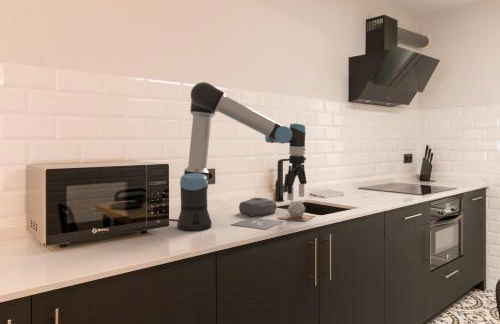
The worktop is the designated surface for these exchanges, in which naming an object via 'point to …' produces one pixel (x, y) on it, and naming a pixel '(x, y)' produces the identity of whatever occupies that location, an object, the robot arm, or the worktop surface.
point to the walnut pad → (303, 219)
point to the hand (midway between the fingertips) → (296, 198)
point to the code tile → (257, 223)
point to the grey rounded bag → (257, 207)
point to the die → (296, 209)
